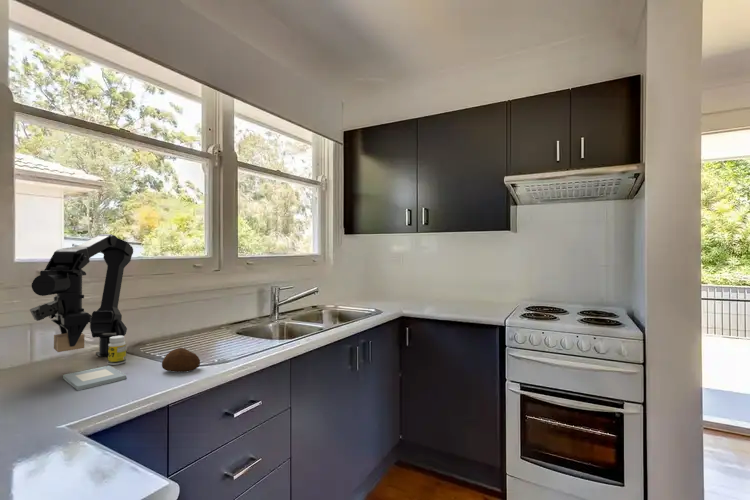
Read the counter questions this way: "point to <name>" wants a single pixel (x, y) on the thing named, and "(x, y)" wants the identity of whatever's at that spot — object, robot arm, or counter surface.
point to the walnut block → (67, 343)
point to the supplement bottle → (116, 350)
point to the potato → (180, 361)
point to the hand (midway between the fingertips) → (69, 344)
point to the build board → (94, 377)
